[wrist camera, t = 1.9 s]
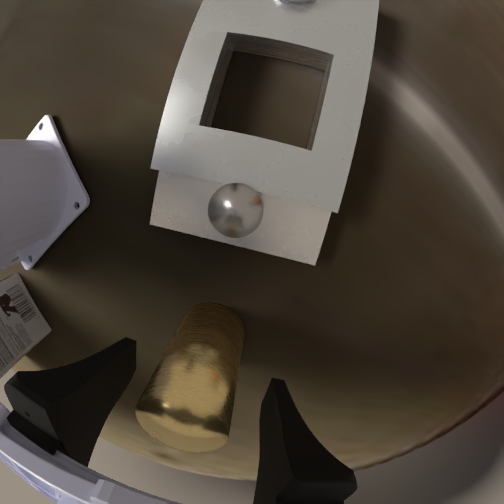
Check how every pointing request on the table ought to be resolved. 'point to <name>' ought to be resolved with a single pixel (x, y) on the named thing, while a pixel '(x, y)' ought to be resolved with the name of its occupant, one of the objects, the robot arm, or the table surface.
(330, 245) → the table surface
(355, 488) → the robot arm
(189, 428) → the brass pin
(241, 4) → the square-hole plate
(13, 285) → the coffee box
